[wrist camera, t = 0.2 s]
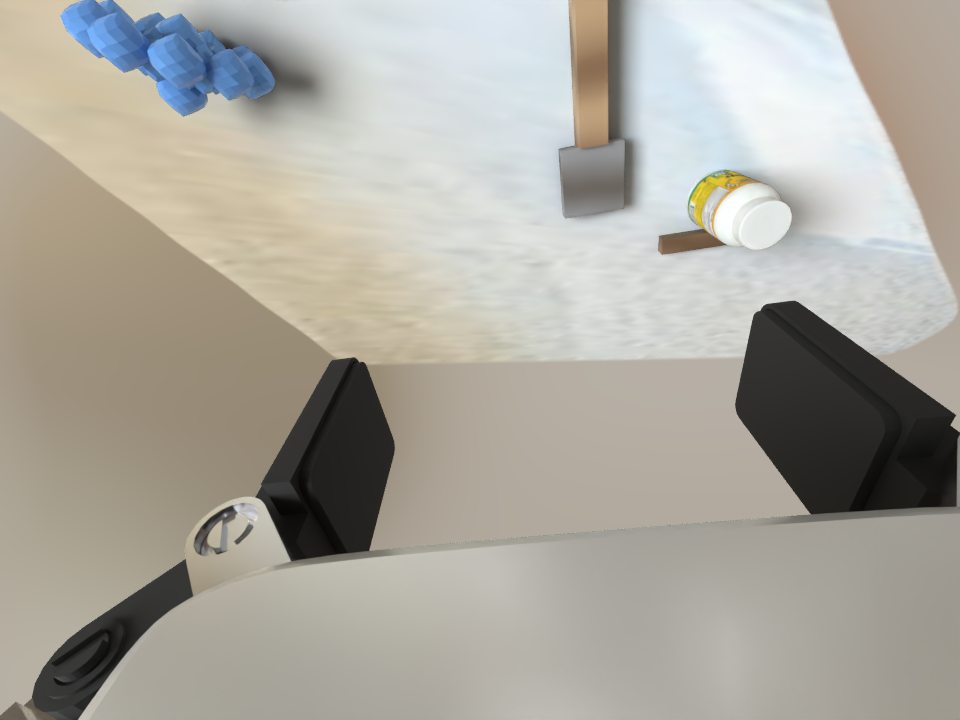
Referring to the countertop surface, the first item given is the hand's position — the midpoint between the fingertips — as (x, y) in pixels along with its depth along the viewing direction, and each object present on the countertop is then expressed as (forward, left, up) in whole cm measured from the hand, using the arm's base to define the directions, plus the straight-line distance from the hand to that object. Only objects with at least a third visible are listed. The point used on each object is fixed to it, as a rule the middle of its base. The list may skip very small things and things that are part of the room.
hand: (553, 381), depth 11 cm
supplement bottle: (+7, +20, -36) cm, 42 cm away
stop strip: (+11, +20, -36) cm, 42 cm away
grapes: (-11, -23, -36) cm, 44 cm away
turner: (-2, +8, -36) cm, 37 cm away
